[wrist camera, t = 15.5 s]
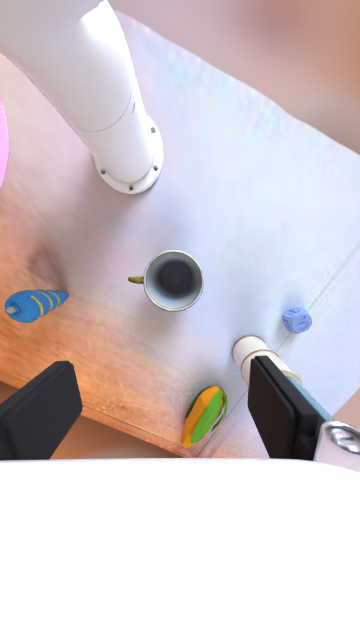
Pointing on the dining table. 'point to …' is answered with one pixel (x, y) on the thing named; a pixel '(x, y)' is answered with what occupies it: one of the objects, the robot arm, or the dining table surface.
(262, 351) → the cup stack
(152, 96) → the dining table surface
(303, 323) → the decorative dice
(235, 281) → the dining table surface
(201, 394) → the corn
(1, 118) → the platter
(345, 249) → the dining table surface
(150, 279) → the ceramic cup
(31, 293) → the ornament
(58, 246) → the dining table surface
